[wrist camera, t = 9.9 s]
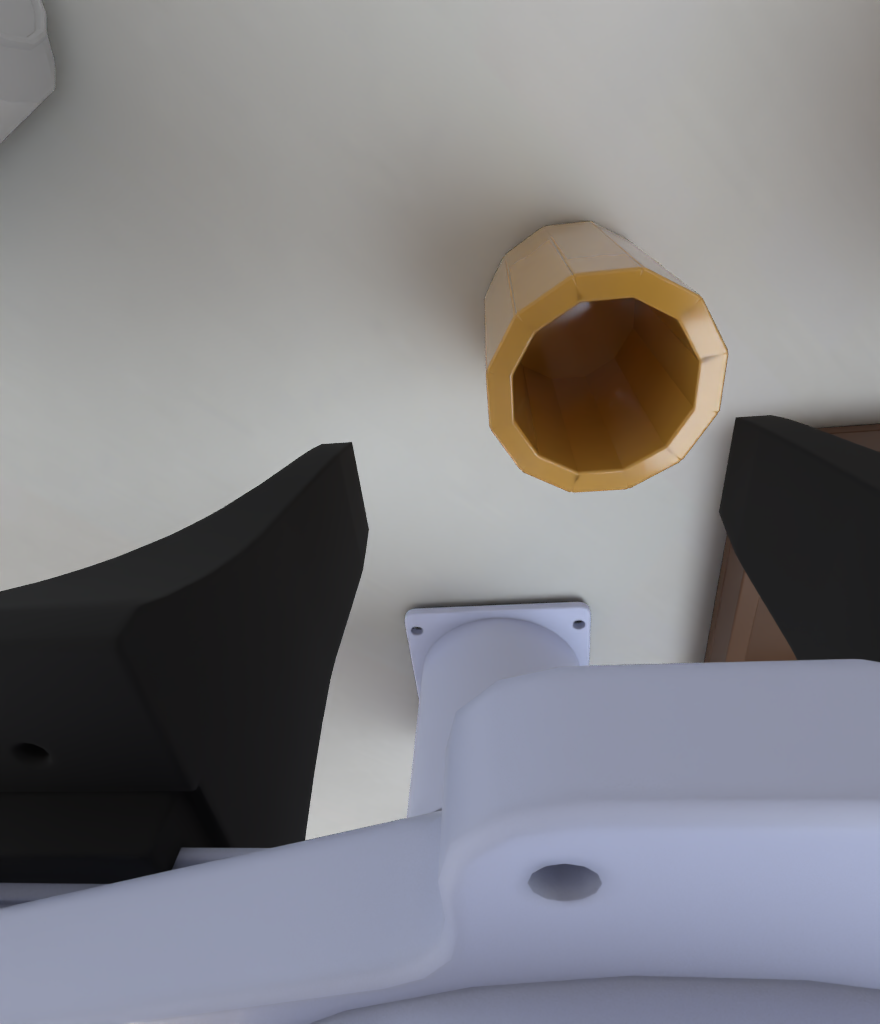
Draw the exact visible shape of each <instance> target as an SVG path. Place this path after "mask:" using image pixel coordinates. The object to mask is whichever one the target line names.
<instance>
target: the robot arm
mask: <svg viewBox="0 0 880 1024" xmlns="http://www.w3.org/2000/svg"><path fill="white" fill-rule="evenodd" d="M719 513H720V516H721V518H722V521H723V524H724V527H725V529H726V532H727V535H728V537H729V540H730V542H731V545H732V547H733V550H734V552H735V554H736V556H737V558H738V560H739V561H740V563H741V565H742V567H743V568H744V570H745V572H746V574H747V575H748V577H749V579H750V580H751V582H752V584H753V585H754V587H755V589H756V590H757V592H758V594H759V595H760V597H761V599H762V600H763V602H764V604H765V605H766V607H767V609H768V610H769V612H770V614H771V615H772V617H773V619H774V620H775V622H776V624H777V625H778V627H779V629H780V630H781V632H782V634H783V635H784V637H785V639H786V640H787V642H788V644H789V646H790V647H791V649H792V651H793V653H794V655H795V657H796V659H797V660H789V661H749V662H710V663H670V664H630V665H591V666H589V654H590V626H591V613H590V609H589V606H588V605H587V604H586V603H583V602H559V603H535V604H511V605H488V606H464V607H440V608H417V609H411V610H409V611H407V613H406V615H405V627H406V633H407V638H408V643H409V649H410V654H411V660H412V665H413V670H414V676H415V681H416V687H417V692H418V697H419V709H418V718H417V727H416V736H415V746H414V755H413V764H412V773H411V783H410V792H409V801H408V811H407V818H404V819H400V820H395V821H391V822H386V823H382V824H377V825H373V826H368V827H364V828H359V829H355V830H350V831H346V832H341V833H337V834H332V835H328V836H323V837H319V838H314V839H310V840H305V836H306V828H307V821H308V814H309V807H310V800H311V792H312V785H313V778H314V771H315V765H316V759H317V753H318V746H319V740H320V734H321V728H322V722H323V717H324V711H325V706H326V700H327V695H328V690H329V684H330V679H331V675H332V671H333V667H334V663H335V659H336V656H337V652H338V649H339V646H340V643H341V640H342V636H343V633H344V630H345V627H346V623H347V620H348V617H349V614H350V611H351V607H352V604H353V601H354V598H355V594H356V591H357V588H358V584H359V581H360V578H361V574H362V571H363V566H364V560H365V553H366V546H367V539H368V531H369V528H368V523H367V518H366V512H365V507H364V502H363V497H362V492H361V487H360V481H359V476H358V471H357V466H356V461H355V456H354V450H353V445H352V442H348V443H333V444H321V445H319V446H317V447H315V448H313V449H311V450H310V451H308V452H307V453H305V454H304V455H302V456H301V457H299V458H298V459H296V460H295V461H293V462H292V463H290V464H289V465H288V466H286V467H285V468H283V469H282V470H280V471H279V472H278V473H276V474H275V475H273V476H272V477H270V478H269V479H267V480H266V481H265V482H263V483H262V484H260V485H259V486H257V487H255V488H254V489H252V490H251V491H249V492H247V493H246V494H244V495H243V496H241V497H240V498H238V499H236V500H235V501H233V502H232V503H230V504H228V505H227V506H225V507H224V508H222V509H220V510H218V511H217V512H215V513H213V514H211V515H210V516H208V517H206V518H204V519H202V520H200V521H198V522H196V523H194V524H192V525H190V526H188V527H186V528H184V529H182V530H180V531H178V532H176V533H174V534H172V535H170V536H167V537H165V538H163V539H160V540H158V541H155V542H153V543H150V544H148V545H146V546H143V547H141V548H138V549H136V550H133V551H131V552H129V553H126V554H124V555H121V556H119V557H116V558H113V559H110V560H107V561H104V562H102V563H99V564H96V565H93V566H90V567H87V568H84V569H81V570H77V571H74V572H71V573H68V574H64V575H61V576H58V577H55V578H51V579H47V580H44V581H40V582H37V583H33V584H29V585H25V586H21V587H17V588H13V589H9V590H5V591H0V1024H880V452H878V451H875V450H873V449H870V448H867V447H864V446H862V445H859V444H856V443H853V442H851V441H848V440H845V439H843V438H840V437H837V436H835V435H832V434H829V433H827V432H824V431H821V430H819V429H816V428H813V427H810V426H808V425H805V424H802V423H799V422H796V421H792V420H789V419H786V418H782V417H777V416H772V415H767V416H752V417H736V419H735V425H734V431H733V436H732V442H731V448H730V453H729V459H728V465H727V470H726V476H725V482H724V487H723V493H722V499H721V504H720V510H719ZM578 620H581V621H582V622H580V623H574V622H575V621H578ZM414 627H420V628H422V629H415V628H414Z"/></svg>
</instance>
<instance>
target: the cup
mask: <svg viewBox="0 0 880 1024" xmlns="http://www.w3.org/2000/svg"><path fill="white" fill-rule="evenodd" d="M484 306H485V362H486V385H487V400H488V414H489V427H490V428H491V431H492V432H493V434H494V435H495V436H496V438H497V439H498V440H499V442H500V443H501V445H502V446H503V447H504V449H505V450H506V451H507V453H508V454H509V455H510V457H511V458H512V459H513V461H514V462H515V464H516V465H517V466H518V468H519V469H520V470H522V471H523V472H524V473H526V474H528V475H531V476H533V477H535V478H538V479H540V480H543V481H545V482H547V483H550V484H552V485H554V486H557V487H559V488H561V489H564V490H566V491H568V492H589V491H606V490H622V489H627V488H631V487H633V486H635V485H637V484H639V483H641V482H643V481H645V480H646V479H648V478H650V477H652V476H654V475H656V474H658V473H660V472H662V471H664V470H665V469H667V468H669V467H671V466H673V465H675V464H677V463H679V462H680V460H682V459H683V458H684V457H685V456H686V455H687V453H688V452H689V451H690V449H691V448H692V447H693V445H694V444H695V443H696V441H697V440H698V439H699V437H700V436H701V435H702V434H703V432H704V431H705V430H706V428H707V427H708V426H709V424H710V423H711V422H712V420H713V419H714V418H715V416H716V415H717V413H718V412H719V411H720V405H721V398H722V392H723V385H724V378H725V372H726V365H727V358H728V349H727V347H726V345H725V343H724V341H723V339H722V337H721V335H720V333H719V331H718V329H717V326H716V324H715V322H714V320H713V318H712V316H711V314H710V312H709V310H708V308H707V306H706V304H705V302H704V300H703V298H702V297H701V296H700V295H699V294H698V293H696V292H695V291H694V290H692V289H691V288H690V287H689V286H687V285H686V284H685V283H683V282H682V281H681V280H679V279H678V278H677V277H676V276H674V275H673V274H672V273H670V272H669V271H668V270H667V269H665V268H664V267H663V266H661V265H660V264H659V263H658V262H656V261H655V260H654V259H652V258H651V257H650V256H649V255H647V254H646V253H645V252H643V251H642V250H641V249H640V248H638V247H637V246H636V245H634V244H633V243H632V242H630V241H629V240H627V239H625V238H623V237H621V236H619V235H617V234H615V233H614V232H612V231H610V230H608V229H606V228H604V227H602V226H600V225H598V224H596V223H594V222H590V221H585V222H576V223H567V224H557V225H548V226H545V227H542V228H540V229H539V230H538V231H536V232H535V233H533V234H532V235H531V236H529V237H528V238H527V239H525V240H524V241H523V242H521V243H520V244H519V245H517V246H516V247H515V248H513V249H512V250H510V251H509V252H508V253H506V255H505V256H504V257H503V259H502V261H501V263H500V265H499V267H498V270H497V272H496V274H495V276H494V278H493V280H492V282H491V284H490V287H489V289H488V291H487V293H486V295H485V299H484Z"/></svg>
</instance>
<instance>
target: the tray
mask: <svg viewBox="0 0 880 1024" xmlns="http://www.w3.org/2000/svg"><path fill="white" fill-rule="evenodd" d="M816 429H819V430H821V431H824V432H827V433H829V434H832V435H835V436H837V437H840V438H843V439H845V440H848V441H851V442H853V443H856V444H859V445H862V446H864V447H867V448H870V449H873V450H875V451H878V452H880V424H874V425H859V426H845V427H830V428H816ZM789 660H797V659H796V657H795V655H794V653H793V651H792V649H791V647H790V646H789V644H788V642H787V640H786V639H785V637H784V635H783V634H782V632H781V630H780V629H779V627H778V625H777V624H776V622H775V620H774V619H773V617H772V615H771V614H770V612H769V610H768V609H767V607H766V605H765V604H764V602H763V600H762V599H761V597H760V595H759V594H758V592H757V590H756V589H755V587H754V585H753V584H752V582H751V580H750V579H749V577H748V575H747V574H746V572H745V570H744V568H743V567H742V565H741V563H740V561H739V560H738V558H737V556H736V554H735V552H734V550H733V547H732V545H731V542H730V540H729V537H728V535H727V538H726V543H725V549H724V554H723V560H722V565H721V571H720V577H719V582H718V588H717V593H716V599H715V604H714V610H713V616H712V621H711V627H710V632H709V638H708V643H707V649H706V655H705V660H704V663H710V662H749V661H789Z"/></svg>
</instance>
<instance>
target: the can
mask: <svg viewBox="0 0 880 1024" xmlns="http://www.w3.org/2000/svg"><path fill="white" fill-rule="evenodd" d="M46 28H47V14H46V11H45V9H44V6H43V4H42V1H41V0H0V143H1V142H2V141H3V140H4V139H5V138H6V137H7V136H8V135H9V134H10V133H11V132H12V131H13V130H14V129H15V128H16V127H17V126H18V125H19V124H20V123H21V122H22V121H23V120H25V119H26V118H27V117H28V116H29V115H30V114H31V113H32V112H33V111H34V110H35V109H36V108H37V107H38V106H39V105H40V104H41V103H42V102H43V101H44V100H45V99H46V98H47V97H48V96H49V95H50V94H51V93H52V92H53V91H54V90H55V60H54V57H53V53H52V49H51V45H50V42H49V38H48V34H47V31H46Z"/></svg>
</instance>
